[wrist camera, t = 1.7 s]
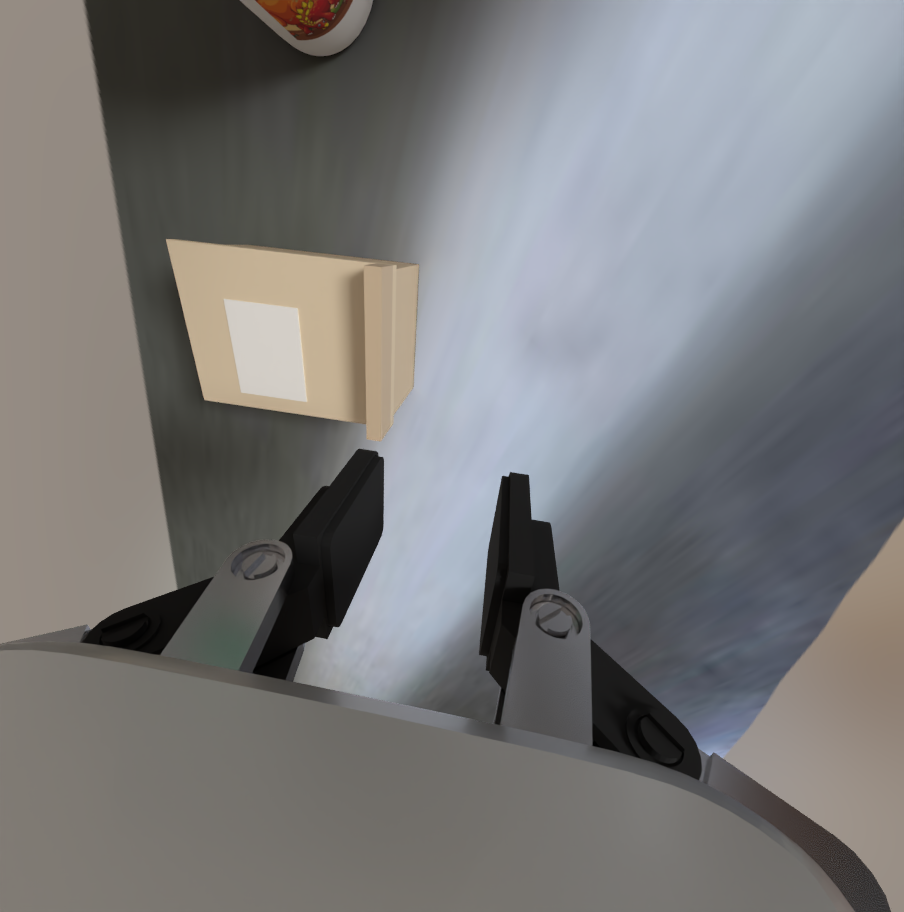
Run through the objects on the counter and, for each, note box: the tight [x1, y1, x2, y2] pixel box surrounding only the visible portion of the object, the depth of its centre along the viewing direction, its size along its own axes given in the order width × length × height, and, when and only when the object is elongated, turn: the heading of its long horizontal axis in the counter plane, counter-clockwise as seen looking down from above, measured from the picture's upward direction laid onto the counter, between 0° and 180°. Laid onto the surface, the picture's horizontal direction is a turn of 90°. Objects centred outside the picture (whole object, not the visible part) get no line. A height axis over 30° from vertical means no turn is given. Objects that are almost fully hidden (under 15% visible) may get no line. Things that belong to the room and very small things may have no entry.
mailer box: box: [230, 245, 419, 414], centre depth 30 cm, size 14×10×7 cm
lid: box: [166, 239, 397, 441], centre depth 25 cm, size 14×11×3 cm
